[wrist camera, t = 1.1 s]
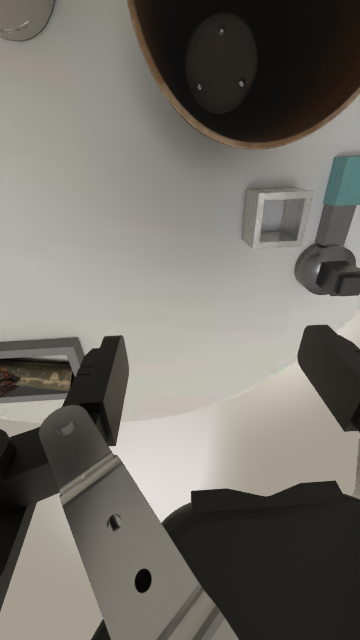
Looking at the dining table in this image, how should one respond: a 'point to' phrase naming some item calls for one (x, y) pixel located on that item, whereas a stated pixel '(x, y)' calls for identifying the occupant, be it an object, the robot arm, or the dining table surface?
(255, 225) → the square metal tube
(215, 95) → the plant pot
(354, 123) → the dining table surface
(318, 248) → the ratchet
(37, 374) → the rough wooden branch
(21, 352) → the gray rectangular tray
